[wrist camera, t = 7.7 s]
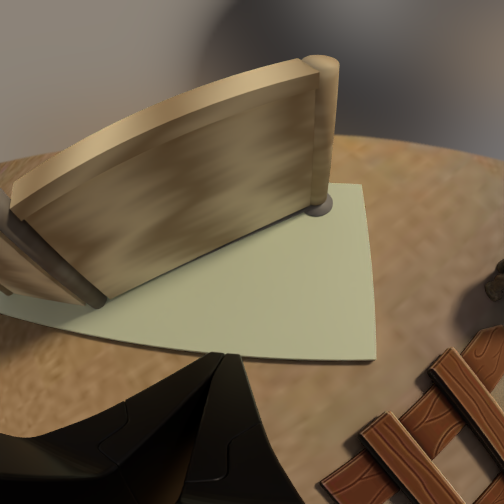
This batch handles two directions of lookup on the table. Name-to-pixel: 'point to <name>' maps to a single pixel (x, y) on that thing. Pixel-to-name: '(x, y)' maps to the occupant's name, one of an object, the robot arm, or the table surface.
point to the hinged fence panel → (187, 174)
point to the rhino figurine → (496, 284)
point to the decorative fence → (431, 432)
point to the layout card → (249, 293)
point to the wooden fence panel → (38, 265)
